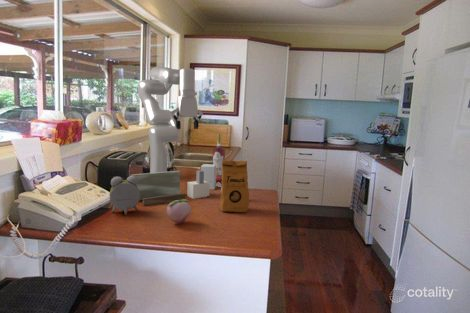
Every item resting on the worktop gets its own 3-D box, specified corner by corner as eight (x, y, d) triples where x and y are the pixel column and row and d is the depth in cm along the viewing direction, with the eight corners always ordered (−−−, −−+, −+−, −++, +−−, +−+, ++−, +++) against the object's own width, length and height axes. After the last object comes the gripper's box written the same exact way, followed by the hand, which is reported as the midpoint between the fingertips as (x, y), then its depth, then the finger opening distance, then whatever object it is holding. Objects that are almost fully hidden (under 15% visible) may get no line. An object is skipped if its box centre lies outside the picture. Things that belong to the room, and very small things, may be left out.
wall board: (131, 200, 159) (130, 174, 157) (178, 194, 173) (178, 170, 171) (139, 206, 150) (139, 179, 149) (188, 199, 164) (189, 174, 162)
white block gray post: (187, 195, 171) (187, 170, 169) (203, 193, 176) (203, 168, 174) (193, 198, 166) (193, 172, 164) (209, 196, 171) (209, 170, 169)
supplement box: (216, 186, 191) (216, 164, 190) (213, 190, 184) (214, 166, 182) (202, 186, 192) (203, 163, 190) (200, 189, 185) (200, 165, 183)
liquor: (225, 180, 208) (227, 134, 204) (222, 183, 201) (223, 134, 197) (214, 179, 210) (215, 133, 206) (210, 181, 203) (211, 134, 199)
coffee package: (248, 214, 145) (251, 162, 142) (219, 213, 145) (220, 161, 141) (248, 207, 155) (250, 159, 151) (220, 206, 155) (221, 158, 151)
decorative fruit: (180, 218, 137) (180, 193, 136) (194, 223, 132) (195, 197, 131) (161, 223, 130) (161, 197, 129) (175, 229, 125) (176, 202, 123)
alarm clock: (139, 209, 147) (138, 174, 144) (140, 214, 140) (140, 177, 138) (109, 211, 142) (109, 175, 140) (110, 216, 136) (109, 179, 134)
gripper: (198, 95, 179) (198, 128, 181) (167, 93, 169) (168, 129, 171) (206, 94, 173) (206, 129, 175) (174, 92, 163) (174, 129, 165)
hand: (187, 129), depth 173 cm, fingers open, 9 cm apart
